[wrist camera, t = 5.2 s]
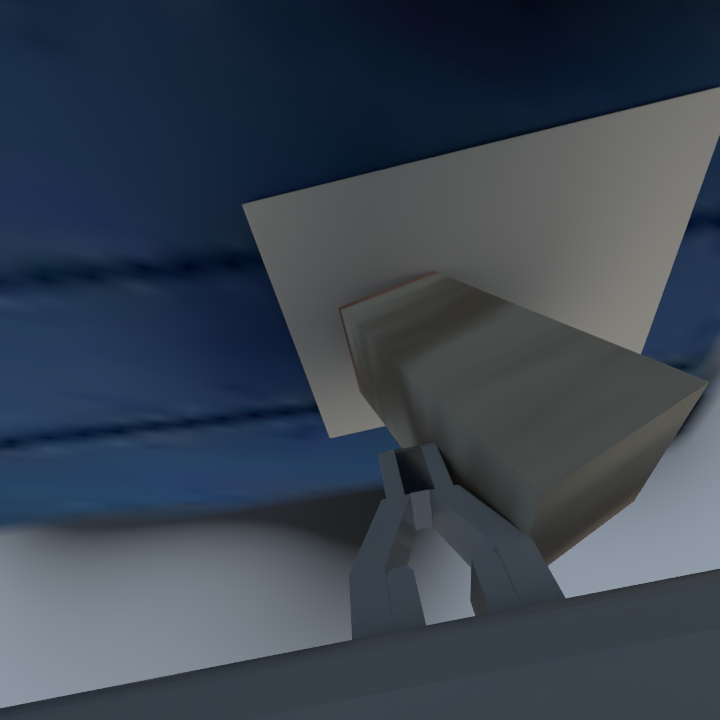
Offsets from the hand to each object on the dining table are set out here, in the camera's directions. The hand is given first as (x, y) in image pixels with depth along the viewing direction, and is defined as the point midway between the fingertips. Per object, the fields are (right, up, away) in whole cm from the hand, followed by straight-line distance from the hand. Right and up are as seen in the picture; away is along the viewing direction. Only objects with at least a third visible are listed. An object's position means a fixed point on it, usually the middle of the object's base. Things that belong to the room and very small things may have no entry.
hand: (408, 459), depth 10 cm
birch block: (0, +5, +5) cm, 7 cm away
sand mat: (+5, +6, +6) cm, 10 cm away
